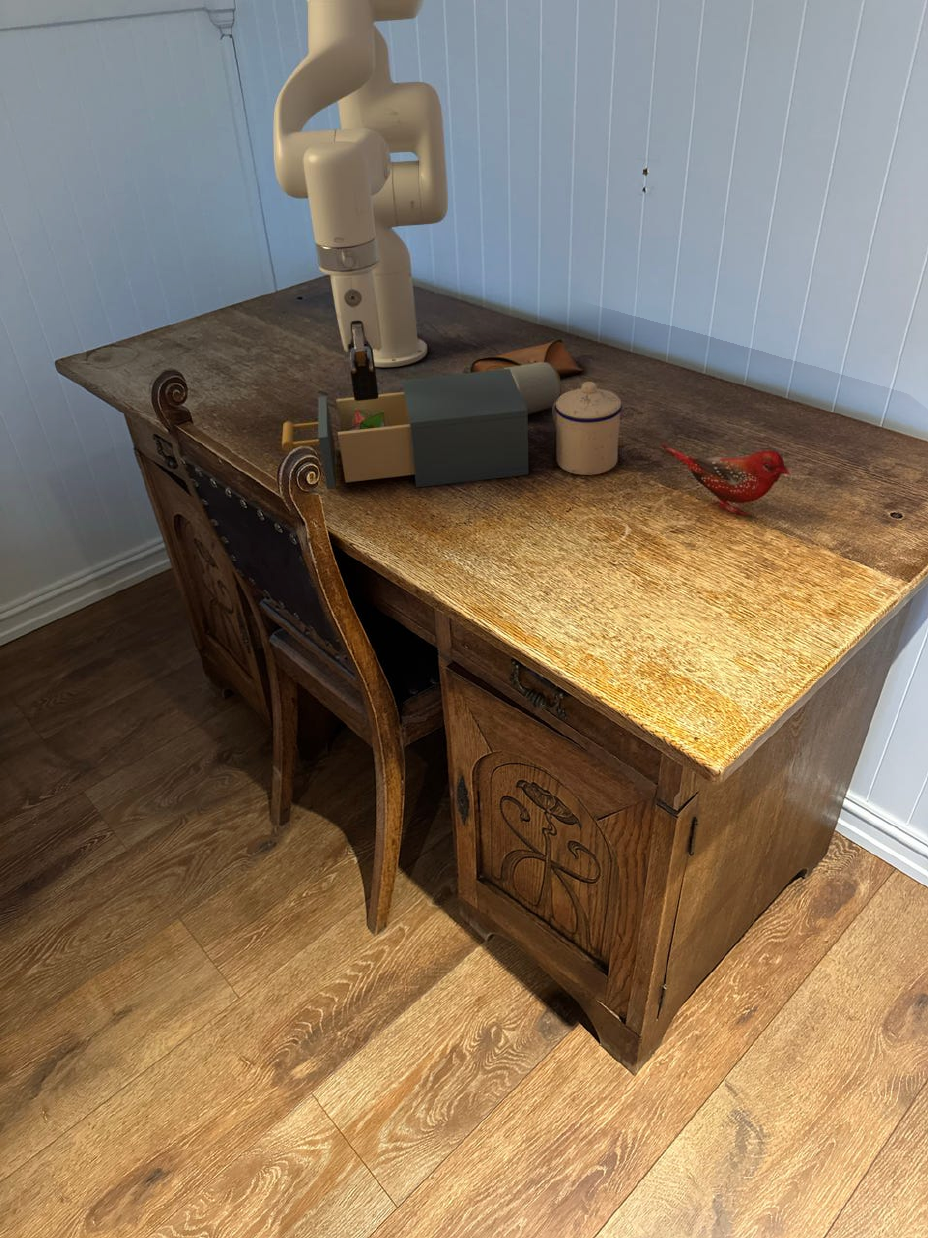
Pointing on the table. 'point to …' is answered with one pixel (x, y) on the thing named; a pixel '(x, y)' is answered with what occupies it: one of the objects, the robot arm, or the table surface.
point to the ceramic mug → (537, 385)
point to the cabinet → (467, 427)
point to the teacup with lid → (587, 430)
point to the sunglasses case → (531, 359)
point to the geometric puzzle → (366, 420)
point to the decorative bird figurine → (735, 475)
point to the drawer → (361, 439)
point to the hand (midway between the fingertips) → (365, 383)
